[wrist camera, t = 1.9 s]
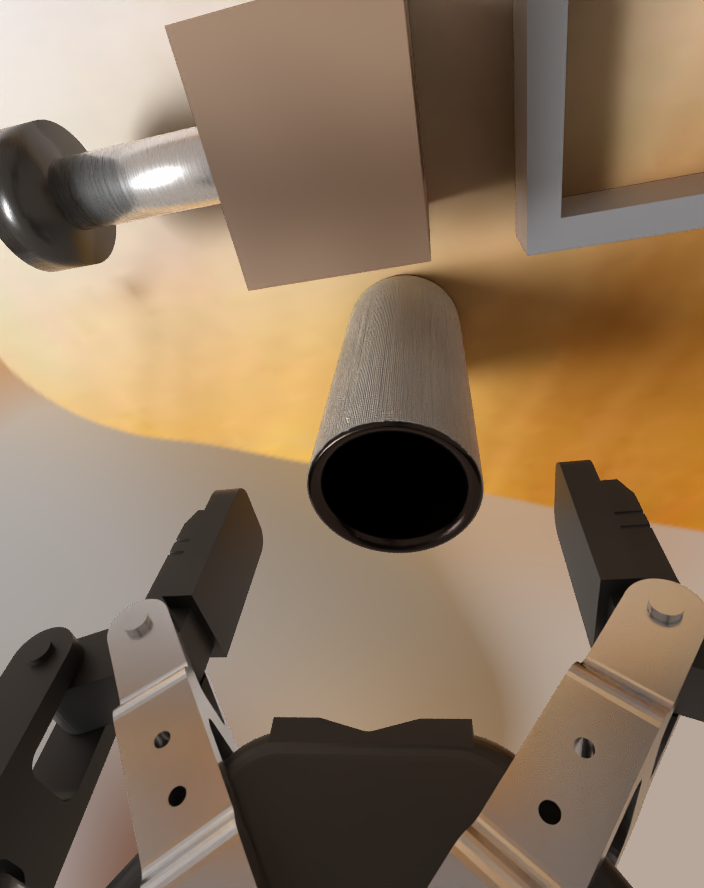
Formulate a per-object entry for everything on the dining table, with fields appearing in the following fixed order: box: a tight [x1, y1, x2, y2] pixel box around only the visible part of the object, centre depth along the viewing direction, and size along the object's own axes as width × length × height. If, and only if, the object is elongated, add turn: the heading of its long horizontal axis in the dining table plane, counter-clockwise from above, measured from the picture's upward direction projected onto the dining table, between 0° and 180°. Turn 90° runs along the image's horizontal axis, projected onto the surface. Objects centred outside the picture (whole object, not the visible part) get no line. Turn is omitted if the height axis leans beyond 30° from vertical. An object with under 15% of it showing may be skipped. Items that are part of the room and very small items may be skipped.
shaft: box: [0, 120, 221, 272], centre depth 15 cm, size 4×10×4 cm, turn 101°
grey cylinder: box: [307, 275, 483, 553], centre depth 17 cm, size 4×4×10 cm
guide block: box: [165, 0, 431, 291], centre depth 15 cm, size 6×5×7 cm
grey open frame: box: [513, 0, 704, 256], centre depth 14 cm, size 9×9×2 cm
